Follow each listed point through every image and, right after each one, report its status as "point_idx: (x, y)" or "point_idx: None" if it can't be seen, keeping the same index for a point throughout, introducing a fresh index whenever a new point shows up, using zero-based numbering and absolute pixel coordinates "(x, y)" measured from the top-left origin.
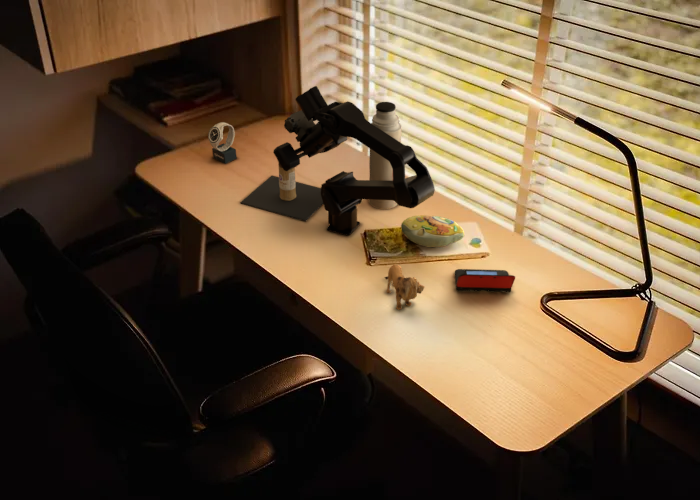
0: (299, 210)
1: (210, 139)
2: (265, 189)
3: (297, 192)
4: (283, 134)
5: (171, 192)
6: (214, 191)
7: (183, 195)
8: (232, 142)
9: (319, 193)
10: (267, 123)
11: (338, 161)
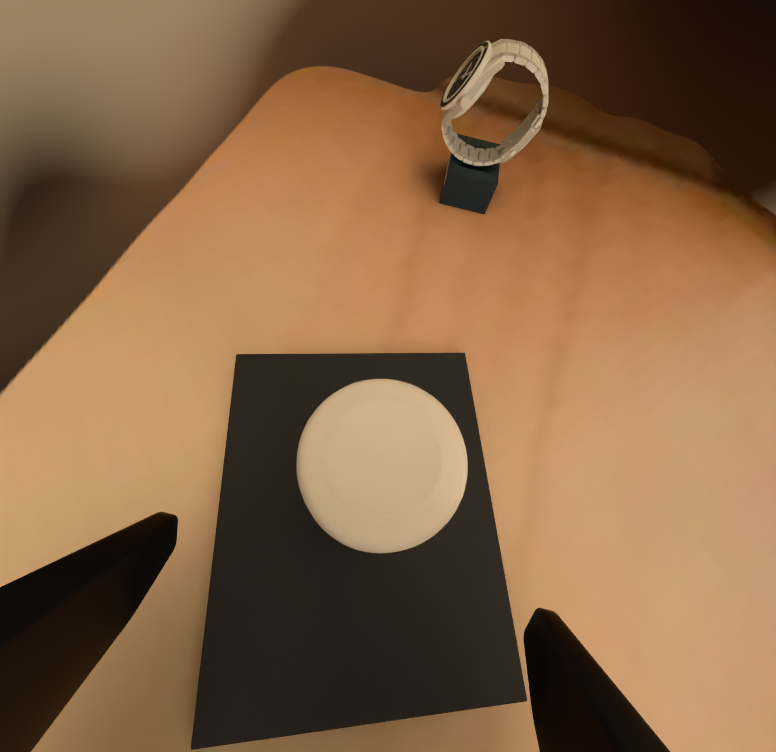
0: (274, 639)
1: (448, 88)
2: None
3: None
4: (688, 256)
5: (219, 158)
6: (278, 247)
7: (215, 189)
8: (509, 156)
9: (466, 631)
10: (691, 196)
11: (730, 525)
